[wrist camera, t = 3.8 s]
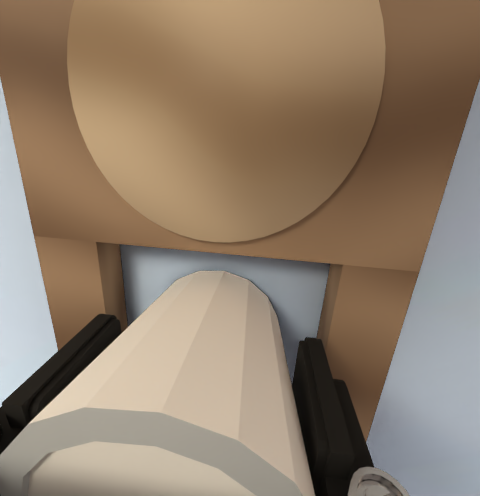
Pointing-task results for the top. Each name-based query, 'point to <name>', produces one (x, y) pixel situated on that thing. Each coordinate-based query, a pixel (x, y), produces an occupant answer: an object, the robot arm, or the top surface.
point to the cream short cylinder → (174, 407)
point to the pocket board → (242, 146)
